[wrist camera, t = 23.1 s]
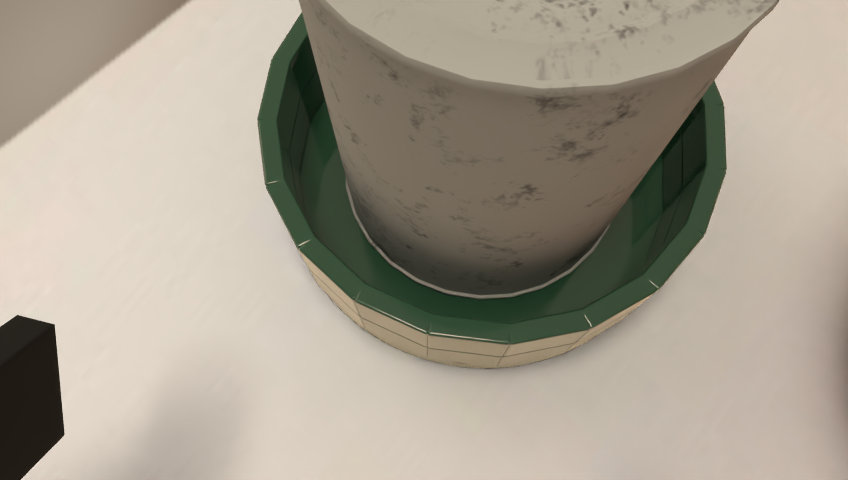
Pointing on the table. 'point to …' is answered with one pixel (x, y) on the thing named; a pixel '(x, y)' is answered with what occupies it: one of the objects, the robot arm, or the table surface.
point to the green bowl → (464, 317)
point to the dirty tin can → (508, 122)
